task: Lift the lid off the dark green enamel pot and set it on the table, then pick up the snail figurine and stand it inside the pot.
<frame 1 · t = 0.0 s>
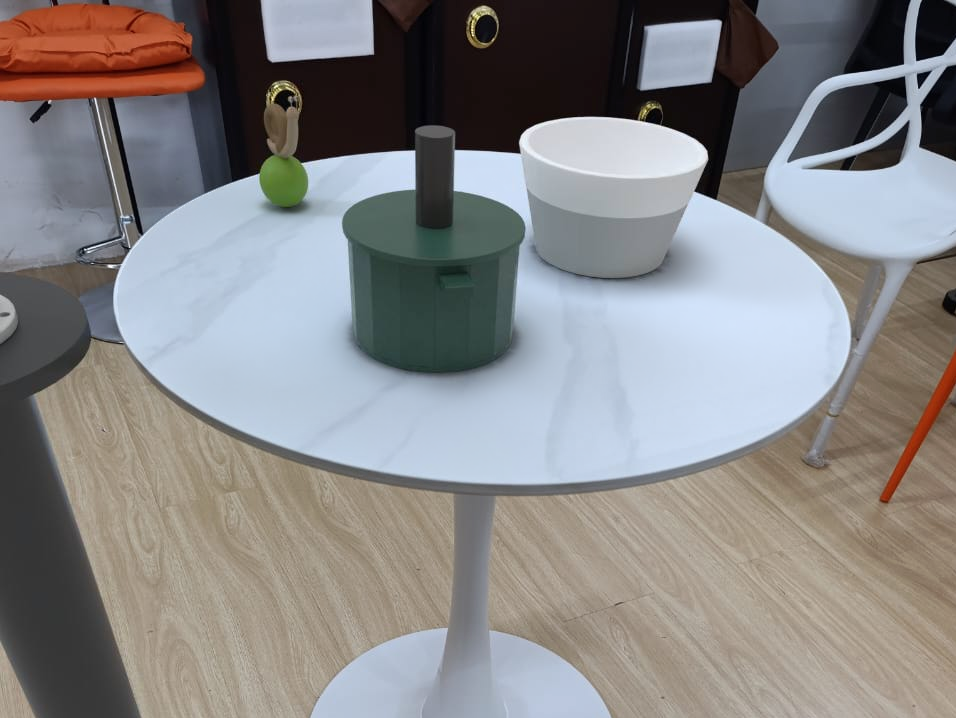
lid: (434, 228, 79), point 9 cm above the table, touching pot
bowl: (599, 253, 101), on the table
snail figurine: (289, 208, 106), on the table
pot: (433, 333, 85), on the table
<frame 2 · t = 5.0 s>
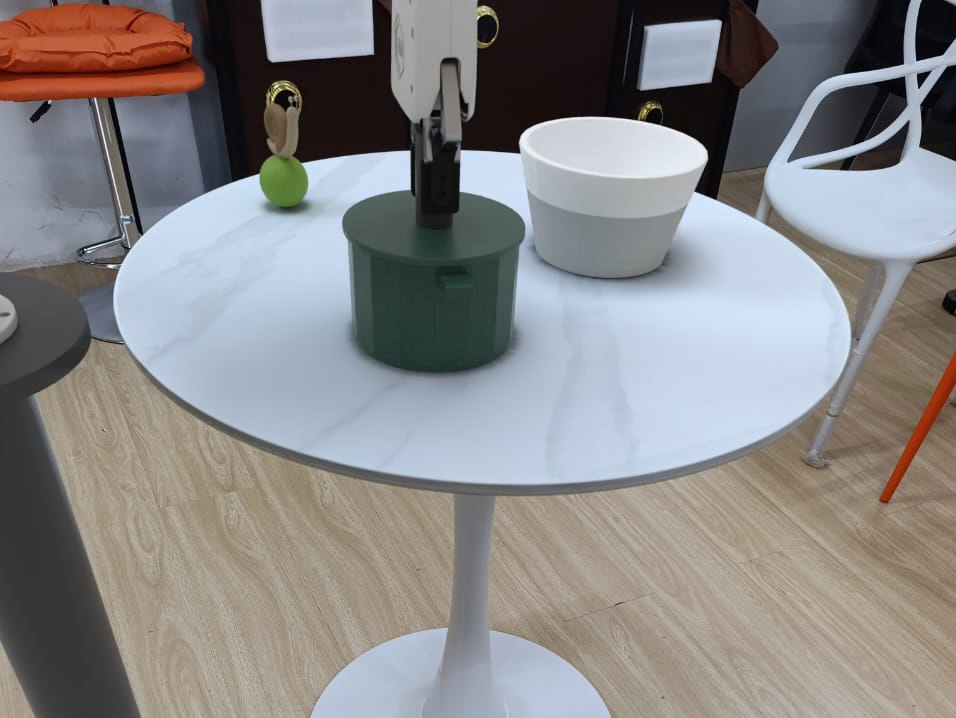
hand: (434, 201, 77), 12 cm above the table, tool pointing down, fingers closed on lid, 3 cm apart
lid: (434, 228, 79), point 10 cm above the table, touching gripper, pot
everything else where it was.
when the fingers open (3 cm above the table, at t = 13.8 s): lid stays where it is, point 1 cm above the table.
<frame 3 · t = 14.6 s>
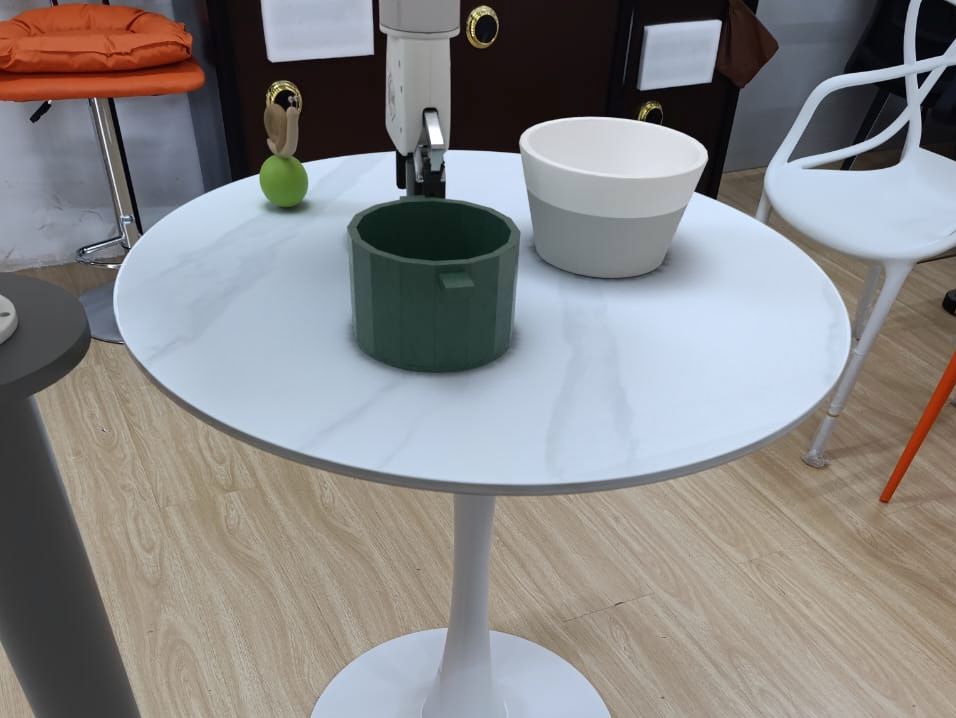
hand: (419, 204, 97), 4 cm above the table, tool pointing down, fingers open, 9 cm apart
lid: (421, 236, 100), point 1 cm above the table
everything else where it was.
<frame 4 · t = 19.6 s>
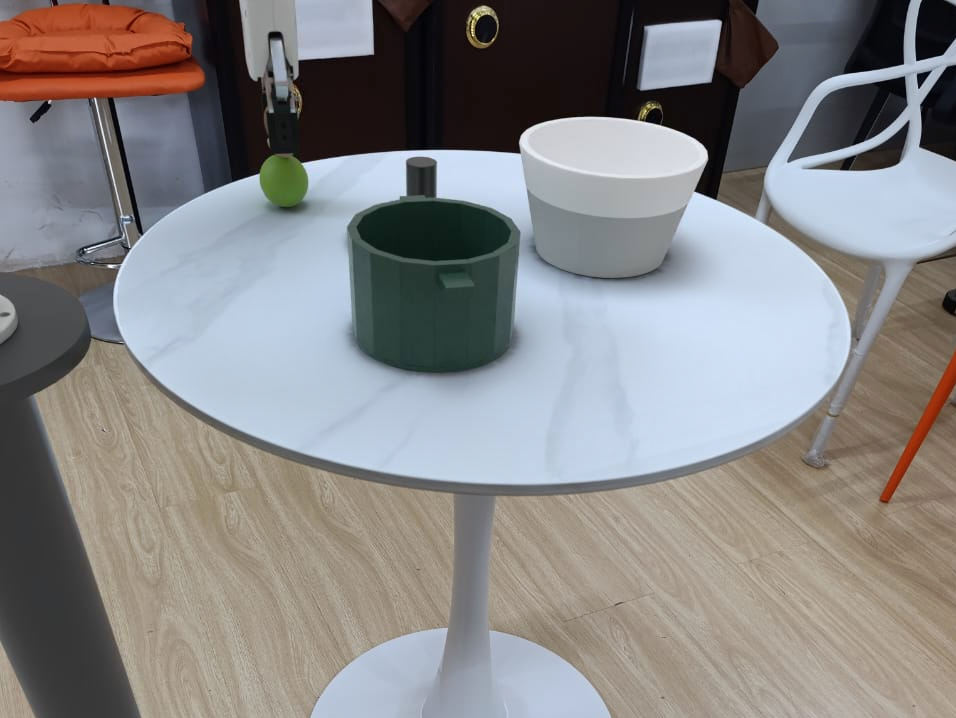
hand: (282, 141, 101), 7 cm above the table, tool pointing down, fingers closed on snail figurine, 5 cm apart
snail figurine: (289, 208, 106), on the table, touching gripper
everything else where it was.
when the fingers open (7 cm above the table, at t = 28.9 s): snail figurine stays where it is, resting on pot.
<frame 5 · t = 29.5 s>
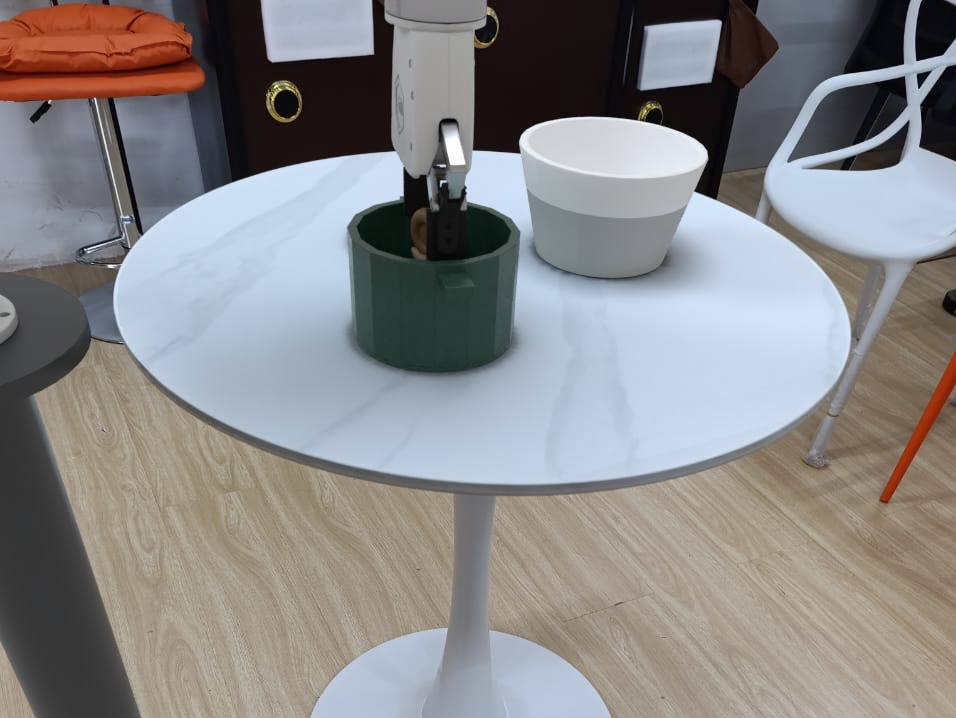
hand: (433, 236, 79), 9 cm above the table, tool pointing down, fingers open, 9 cm apart
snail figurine: (433, 330, 85), resting on pot
everything else where it was.
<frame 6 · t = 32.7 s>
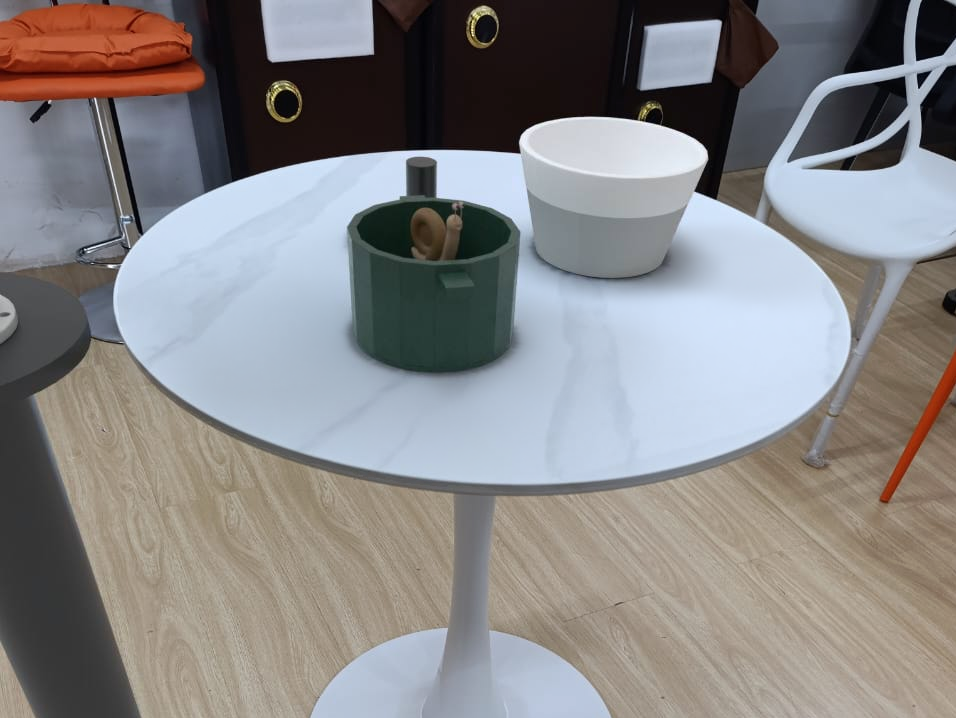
nothing on the table moved.
at the end: lid inside the target area (0.1 cm from its centre), point 0.6 cm above the table; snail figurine inside the target area in the pot (0.0 cm from its centre), point 0.3 cm above the pot's base; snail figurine tilted 0° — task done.
